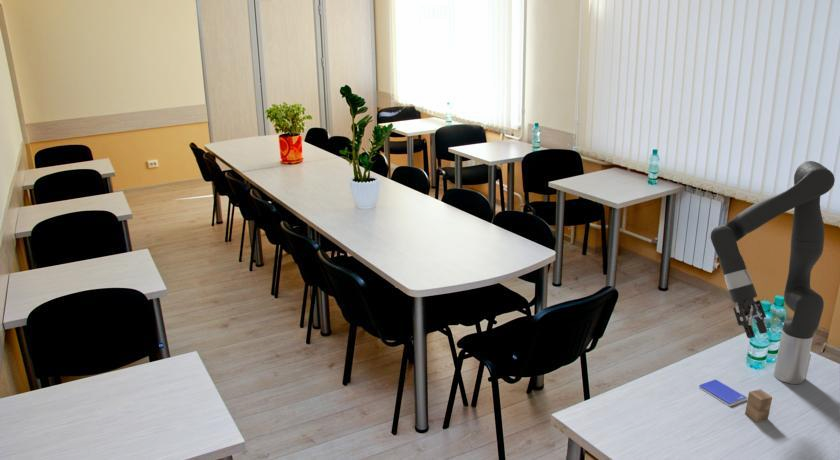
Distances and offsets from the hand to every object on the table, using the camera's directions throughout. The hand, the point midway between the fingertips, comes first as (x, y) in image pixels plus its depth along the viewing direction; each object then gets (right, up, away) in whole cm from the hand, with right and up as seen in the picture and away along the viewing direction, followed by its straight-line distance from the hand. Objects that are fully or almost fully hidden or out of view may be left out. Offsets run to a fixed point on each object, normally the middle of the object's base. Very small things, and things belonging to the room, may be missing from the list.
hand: (757, 335), depth 217 cm
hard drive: (-7, -21, +10) cm, 25 cm away
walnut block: (-1, -25, -2) cm, 25 cm away
